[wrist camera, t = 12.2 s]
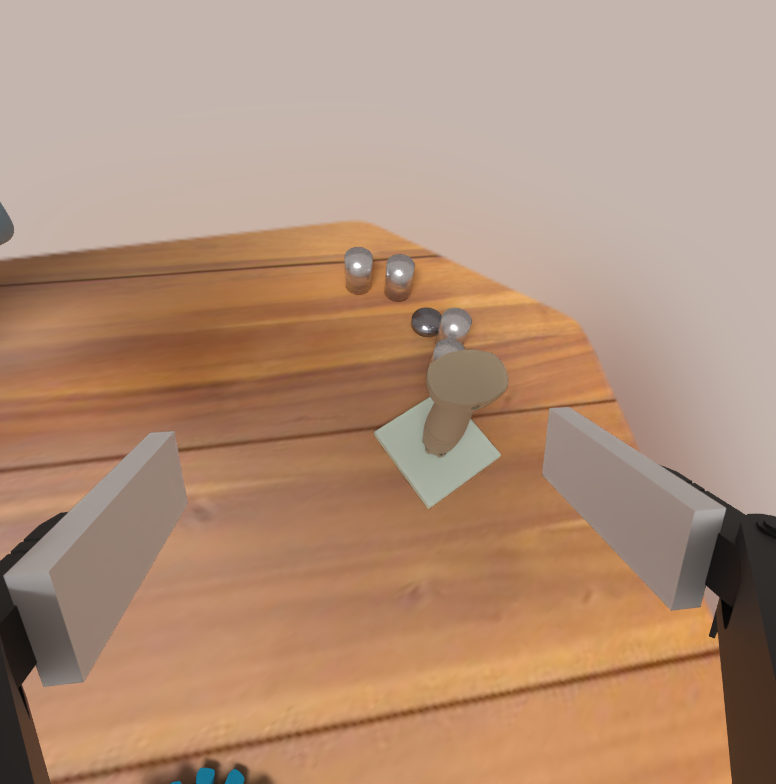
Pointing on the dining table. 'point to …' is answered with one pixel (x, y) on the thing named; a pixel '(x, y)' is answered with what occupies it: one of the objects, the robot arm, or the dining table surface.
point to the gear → (207, 776)
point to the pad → (428, 470)
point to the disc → (426, 322)
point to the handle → (459, 395)
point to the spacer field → (405, 295)
